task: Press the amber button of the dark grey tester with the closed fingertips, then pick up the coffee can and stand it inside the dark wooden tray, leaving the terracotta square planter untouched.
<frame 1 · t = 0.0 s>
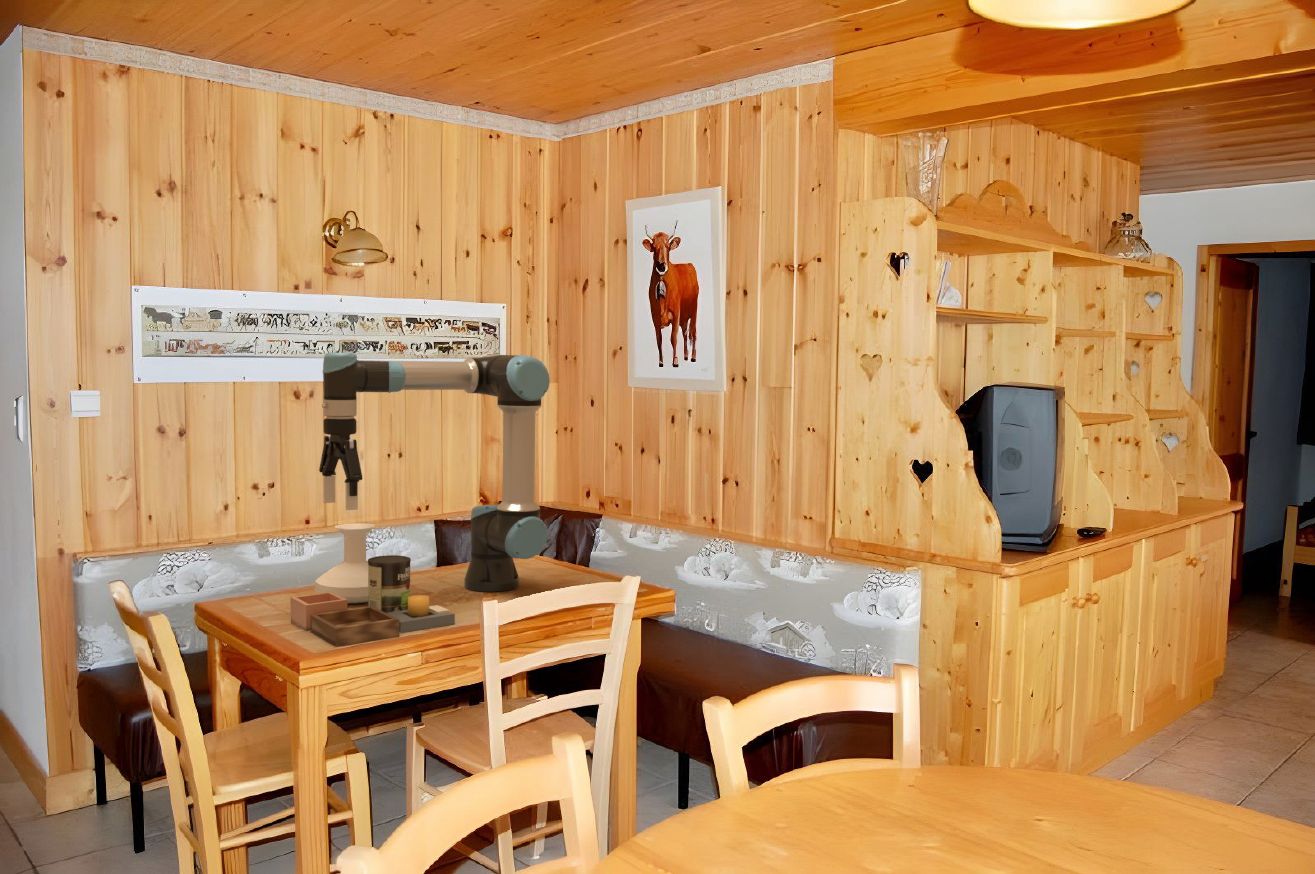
hand: (340, 506, 251), 28 cm above the table, fingers open, 13 cm apart
terracotta square planter: (319, 622, 251), on the table
coffee can: (389, 615, 260), on the table
candle holder: (355, 599, 276), on the table
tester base: (418, 623, 252), on the table
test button: (418, 605, 252), point 5 cm above the table, slide at 0.0 cm
dark wooden tray: (354, 633, 242), on the table
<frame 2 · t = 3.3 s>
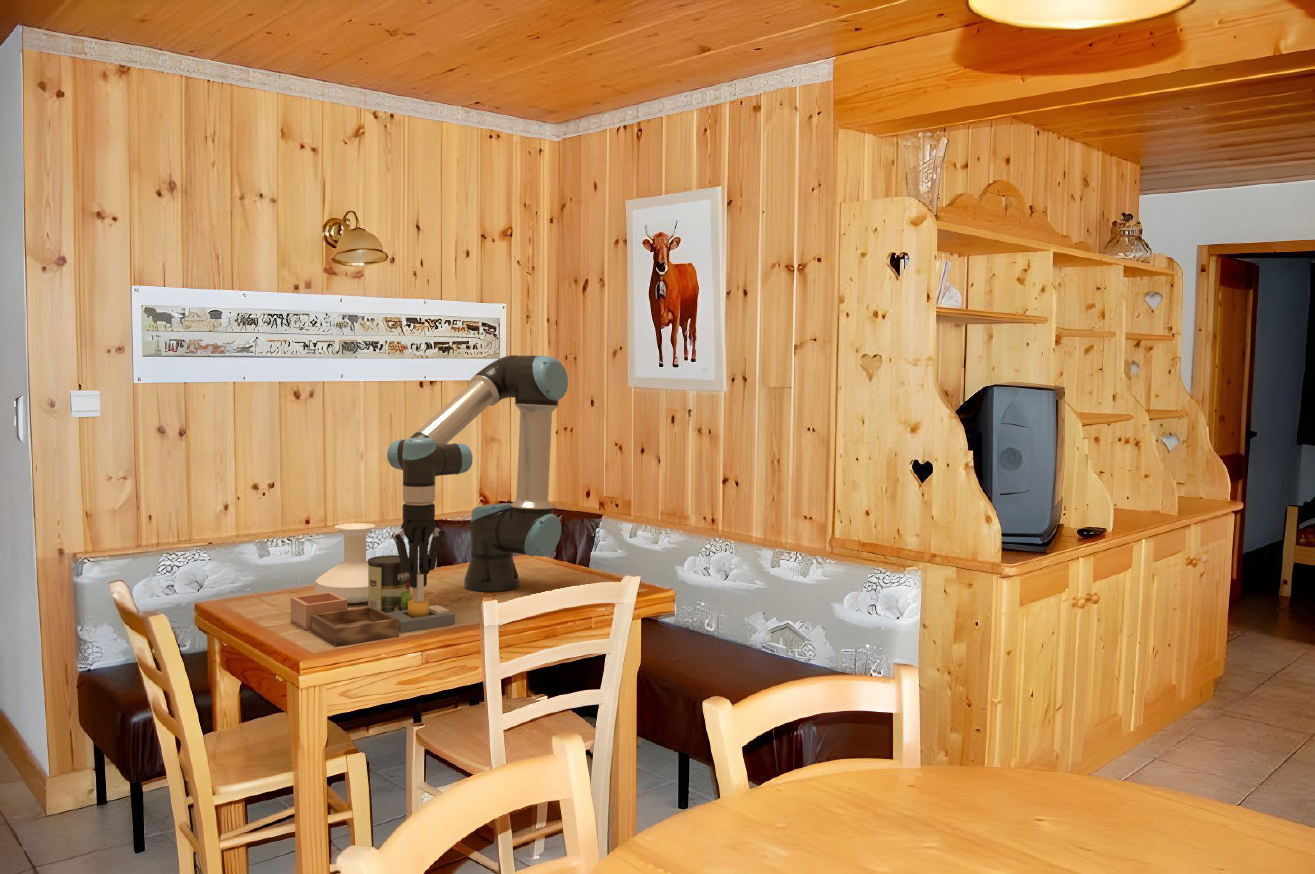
hand: (418, 600, 251), 6 cm above the table, fingers closed
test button: (418, 609, 252), point 3 cm above the table, slide at 1.0 cm, touching gripper
everything else where it was.
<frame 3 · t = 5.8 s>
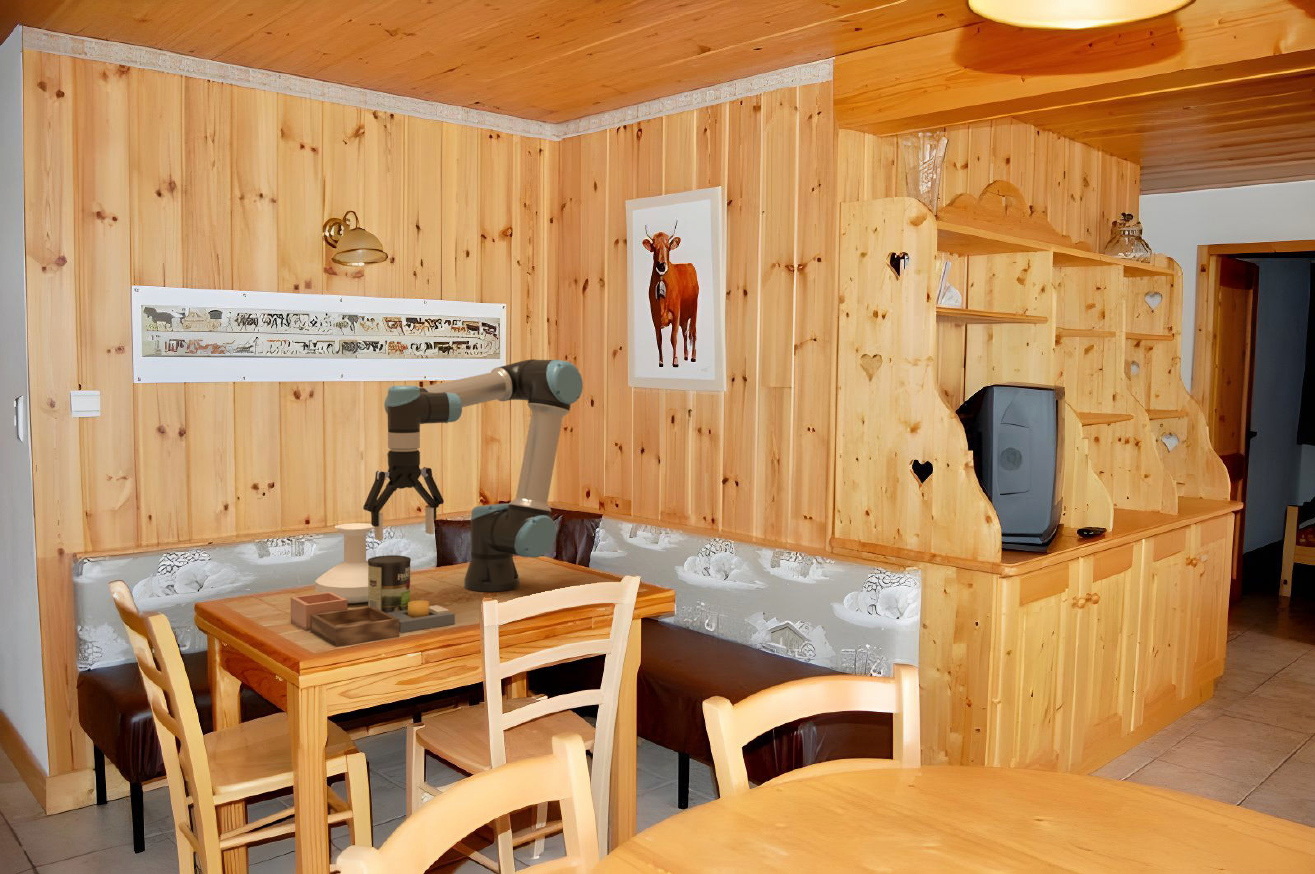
hand: (404, 536, 255), 20 cm above the table, fingers open, 13 cm apart
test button: (418, 610, 252), point 3 cm above the table, slide at 1.3 cm
everything else where it was.
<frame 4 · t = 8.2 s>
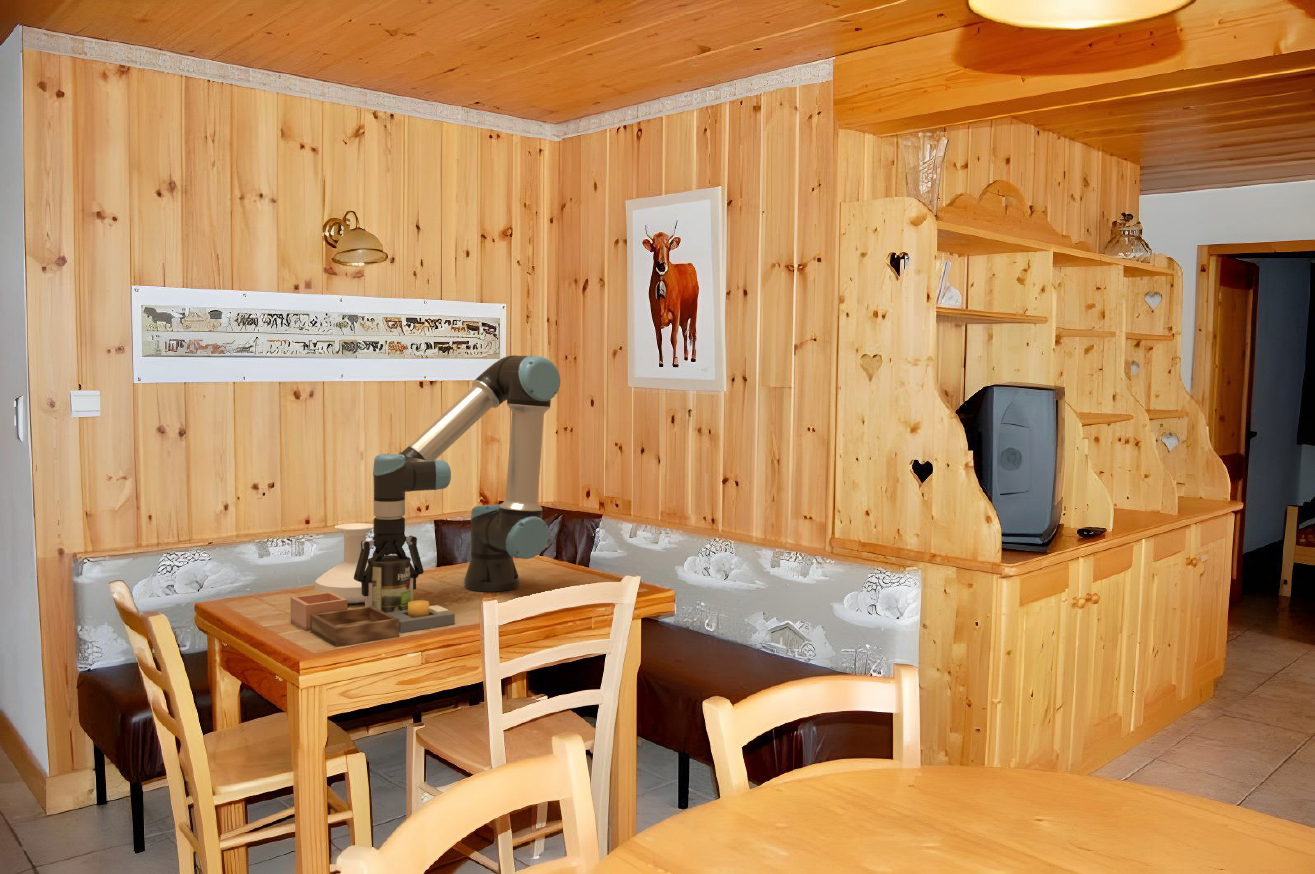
hand: (389, 605, 260), 2 cm above the table, fingers closed on coffee can, 10 cm apart
coffee can: (389, 615, 260), on the table, touching gripper
everything else where it was.
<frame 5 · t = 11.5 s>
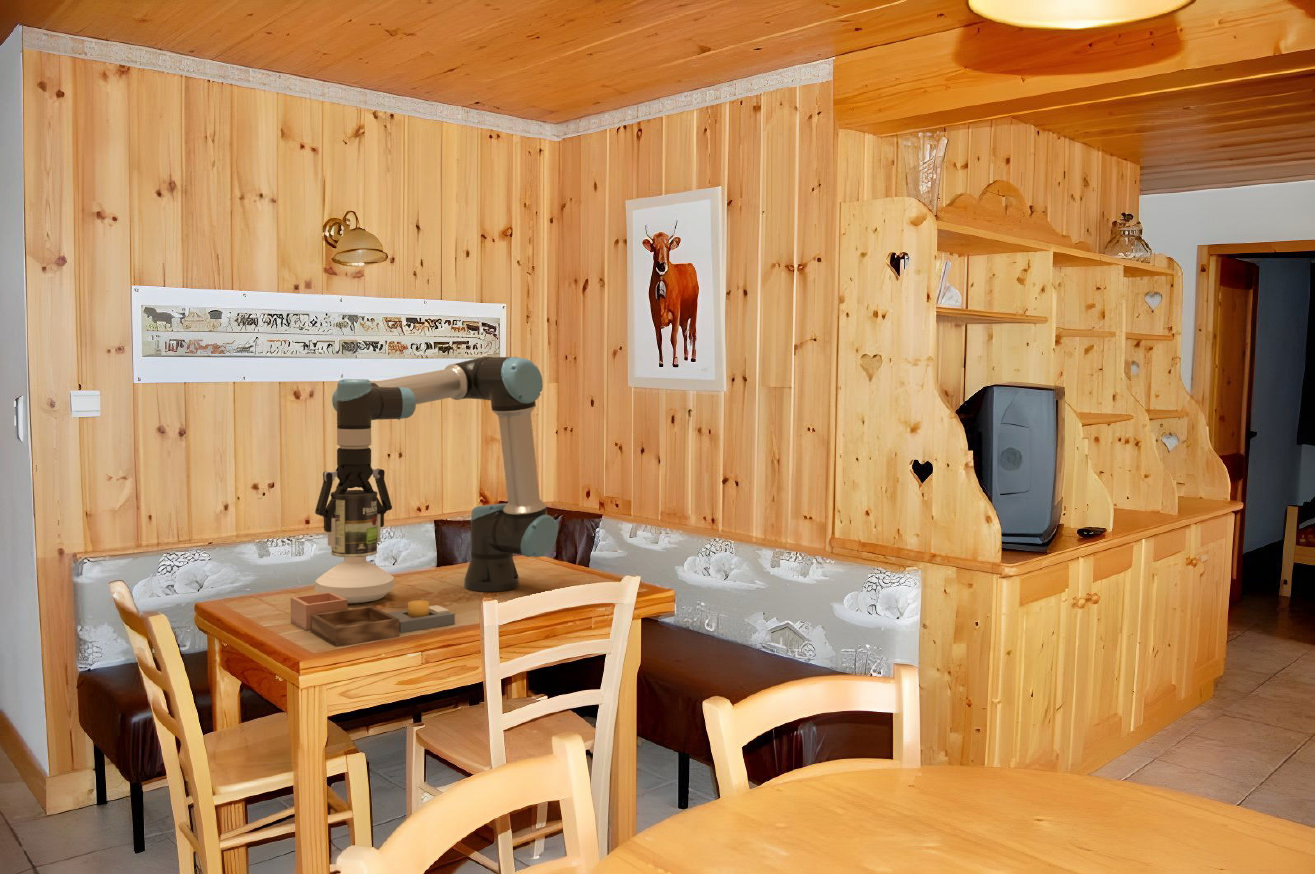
hand: (354, 543, 240), 21 cm above the table, fingers closed on coffee can, 10 cm apart
coffee can: (354, 554, 240), point 19 cm above the table, touching gripper
everything else where it was.
when the fingers open (5 cm above the table, at t = 14.9 s): coffee can drops 1 cm, resting on dark wooden tray.
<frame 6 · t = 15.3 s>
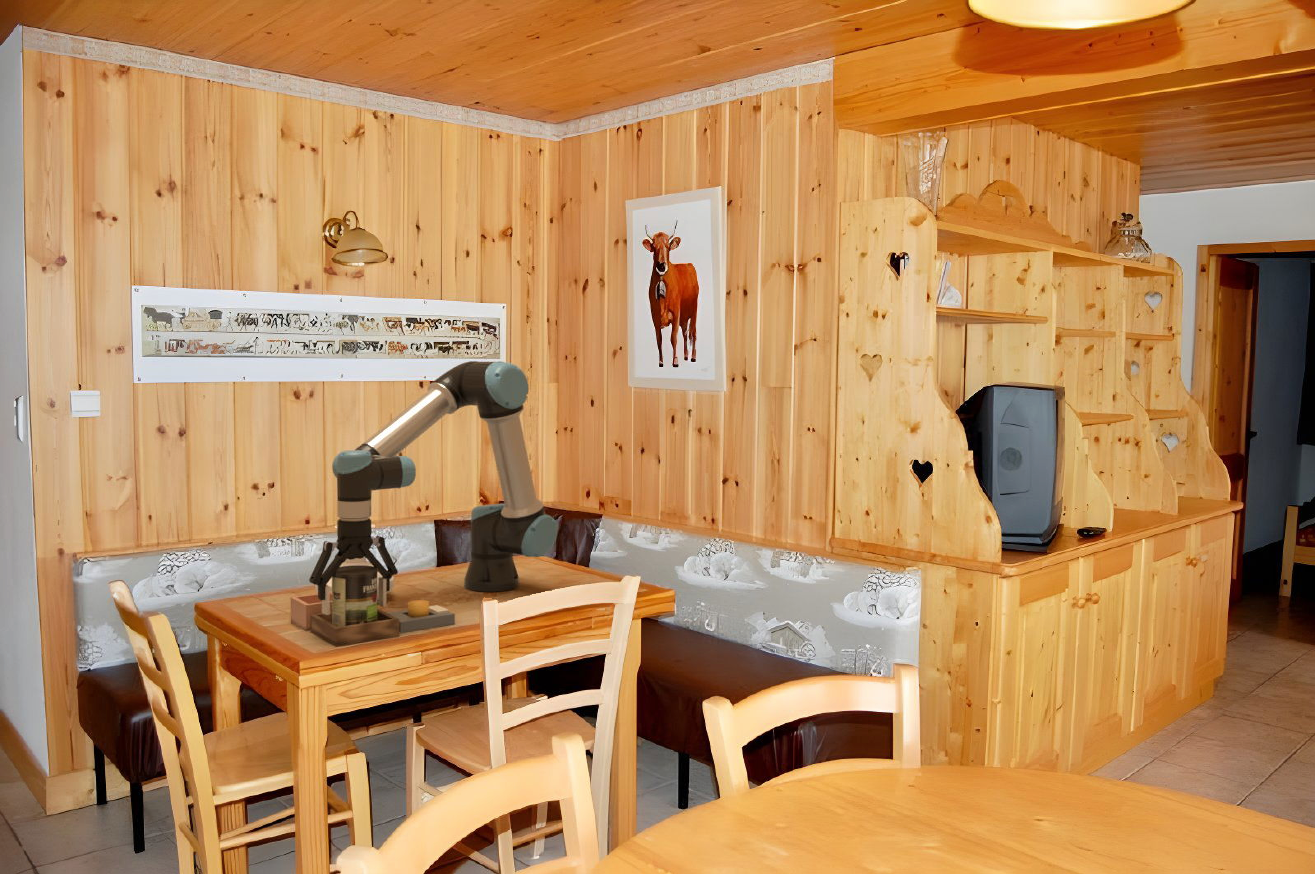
hand: (354, 609, 241), 6 cm above the table, fingers open, 13 cm apart
coffee can: (354, 630, 242), point 1 cm above the table, touching dark wooden tray
everything else where it was.
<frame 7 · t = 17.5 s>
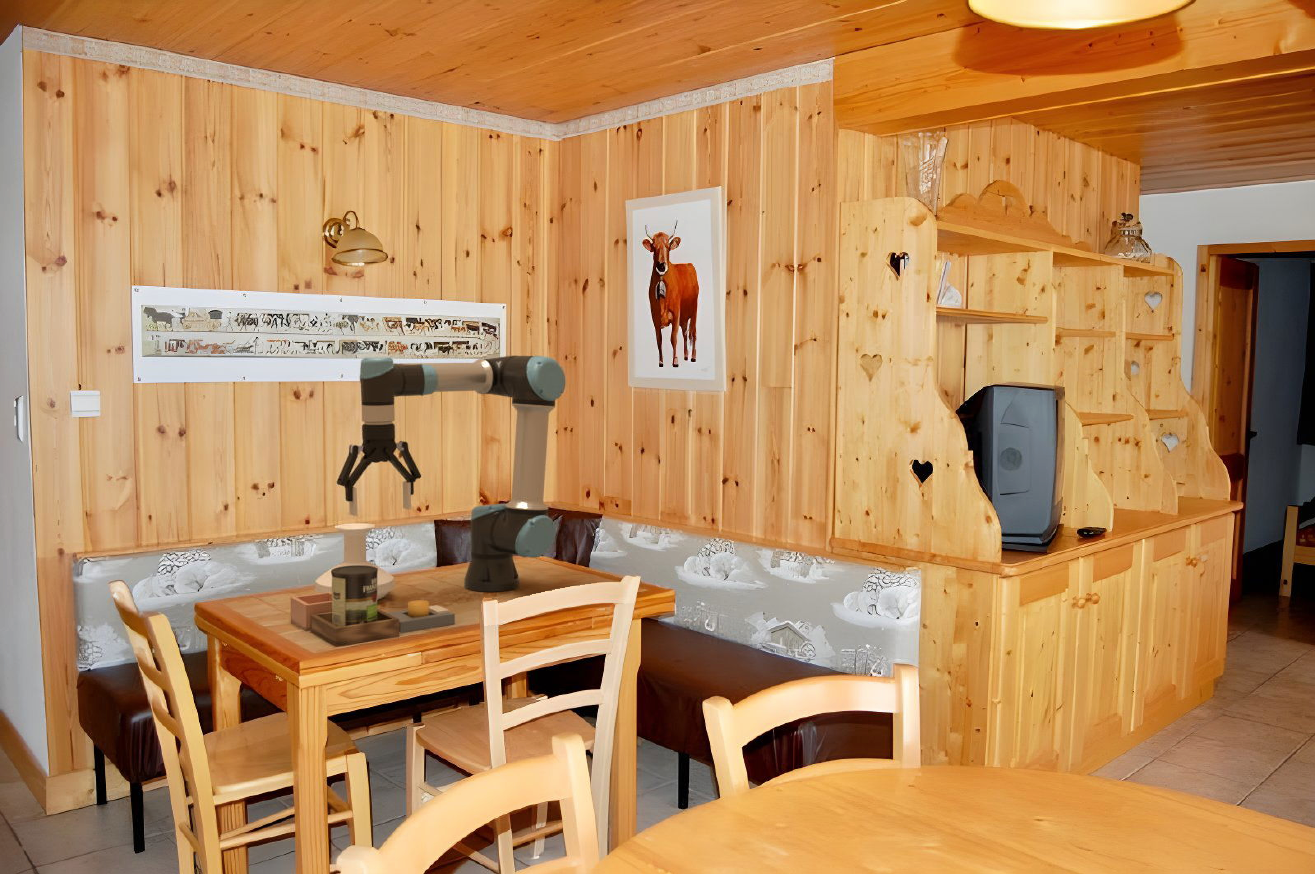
hand: (380, 511, 249), 27 cm above the table, fingers open, 13 cm apart
nothing on the table moved.
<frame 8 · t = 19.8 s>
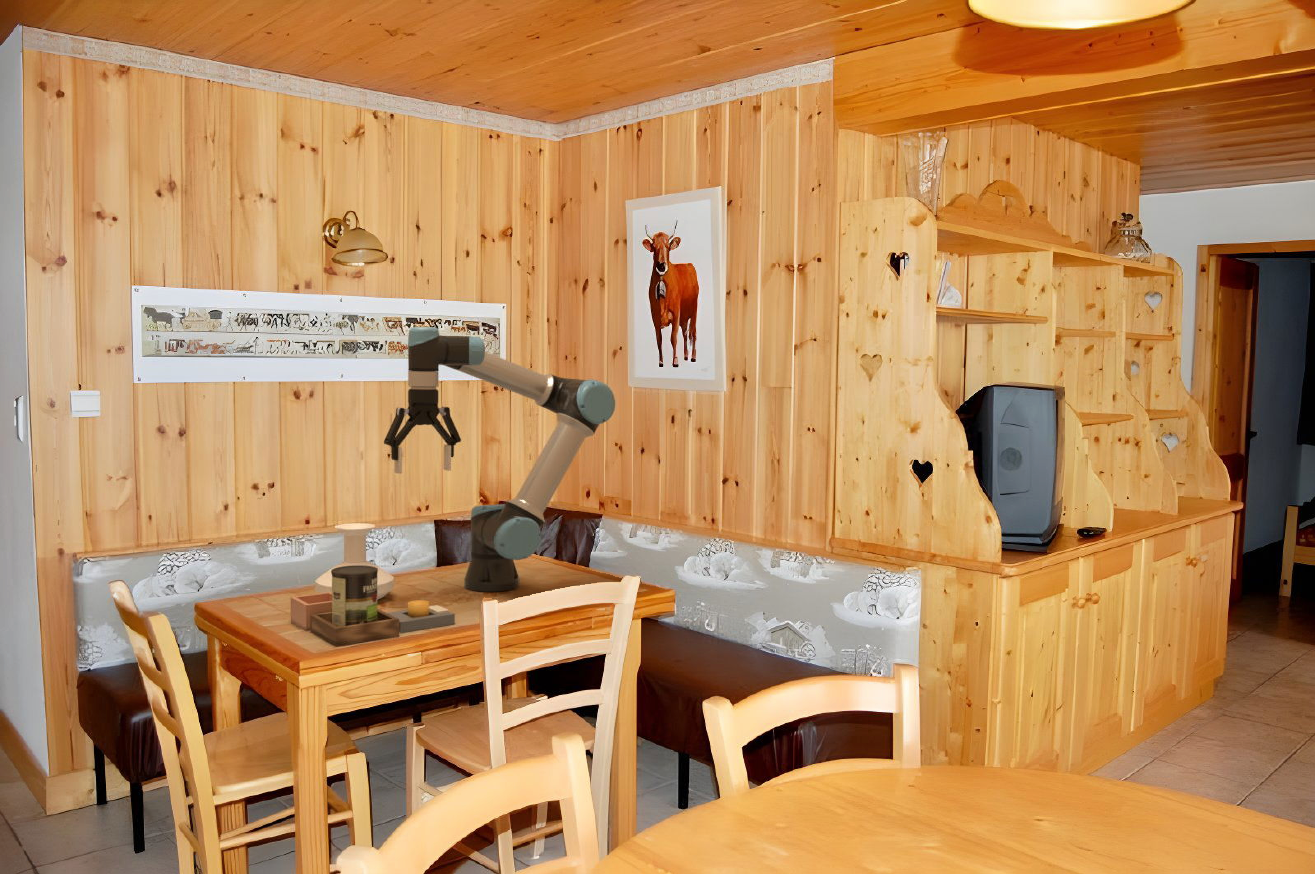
hand: (423, 471, 267), 35 cm above the table, fingers open, 13 cm apart
nothing on the table moved.
at the end: coffee can inside the target area on the dark wooden tray (0.1 cm from its centre), point 0.8 cm above the dark wooden tray's base; coffee can tilted 0°; the gripper is holding nothing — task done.
